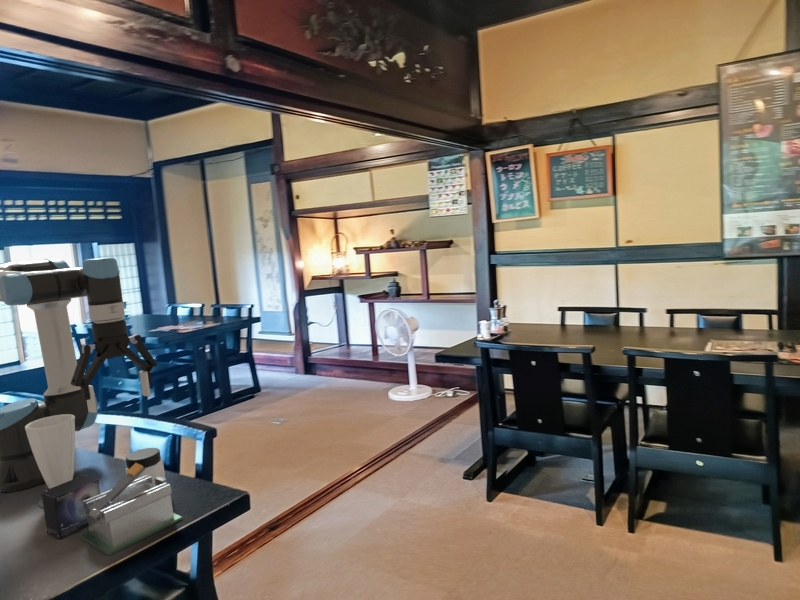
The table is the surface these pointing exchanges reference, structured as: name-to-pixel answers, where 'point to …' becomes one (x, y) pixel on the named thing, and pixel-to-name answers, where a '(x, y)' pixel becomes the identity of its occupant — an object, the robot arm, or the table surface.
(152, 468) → the jar
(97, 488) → the small box
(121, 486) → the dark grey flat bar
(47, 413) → the robot arm
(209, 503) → the table surface
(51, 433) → the cup
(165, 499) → the heatsink
